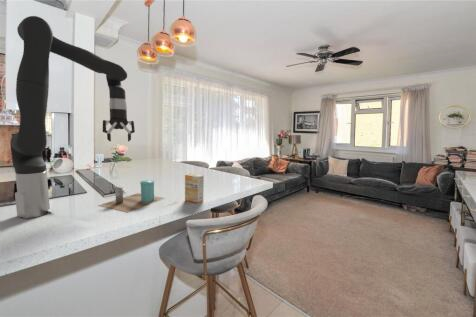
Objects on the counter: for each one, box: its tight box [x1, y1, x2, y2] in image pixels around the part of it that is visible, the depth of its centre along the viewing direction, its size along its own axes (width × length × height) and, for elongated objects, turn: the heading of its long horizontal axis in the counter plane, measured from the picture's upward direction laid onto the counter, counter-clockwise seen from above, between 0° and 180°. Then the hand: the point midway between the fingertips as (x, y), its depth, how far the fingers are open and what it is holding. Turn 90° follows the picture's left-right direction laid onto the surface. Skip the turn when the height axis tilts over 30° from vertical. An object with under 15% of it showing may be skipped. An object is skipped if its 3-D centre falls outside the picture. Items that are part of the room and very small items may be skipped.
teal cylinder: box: [139, 179, 155, 202], centre depth 109 cm, size 6×6×9 cm
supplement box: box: [184, 172, 205, 204], centre depth 115 cm, size 8×5×13 cm, turn 62°
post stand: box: [97, 186, 165, 214], centre depth 107 cm, size 22×18×8 cm
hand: (119, 141), depth 118 cm, fingers open, 8 cm apart
